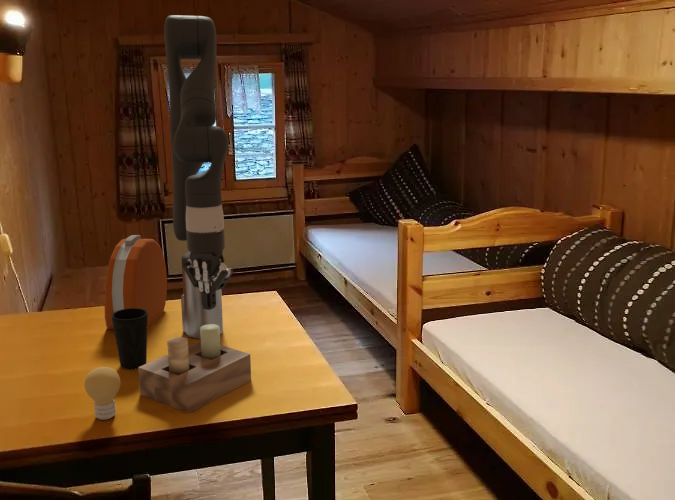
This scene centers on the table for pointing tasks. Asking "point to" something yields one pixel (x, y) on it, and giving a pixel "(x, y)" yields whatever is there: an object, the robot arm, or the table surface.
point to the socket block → (195, 378)
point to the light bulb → (103, 390)
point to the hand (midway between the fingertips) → (209, 308)
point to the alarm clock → (136, 278)
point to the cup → (131, 336)
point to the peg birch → (178, 355)
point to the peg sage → (210, 341)
